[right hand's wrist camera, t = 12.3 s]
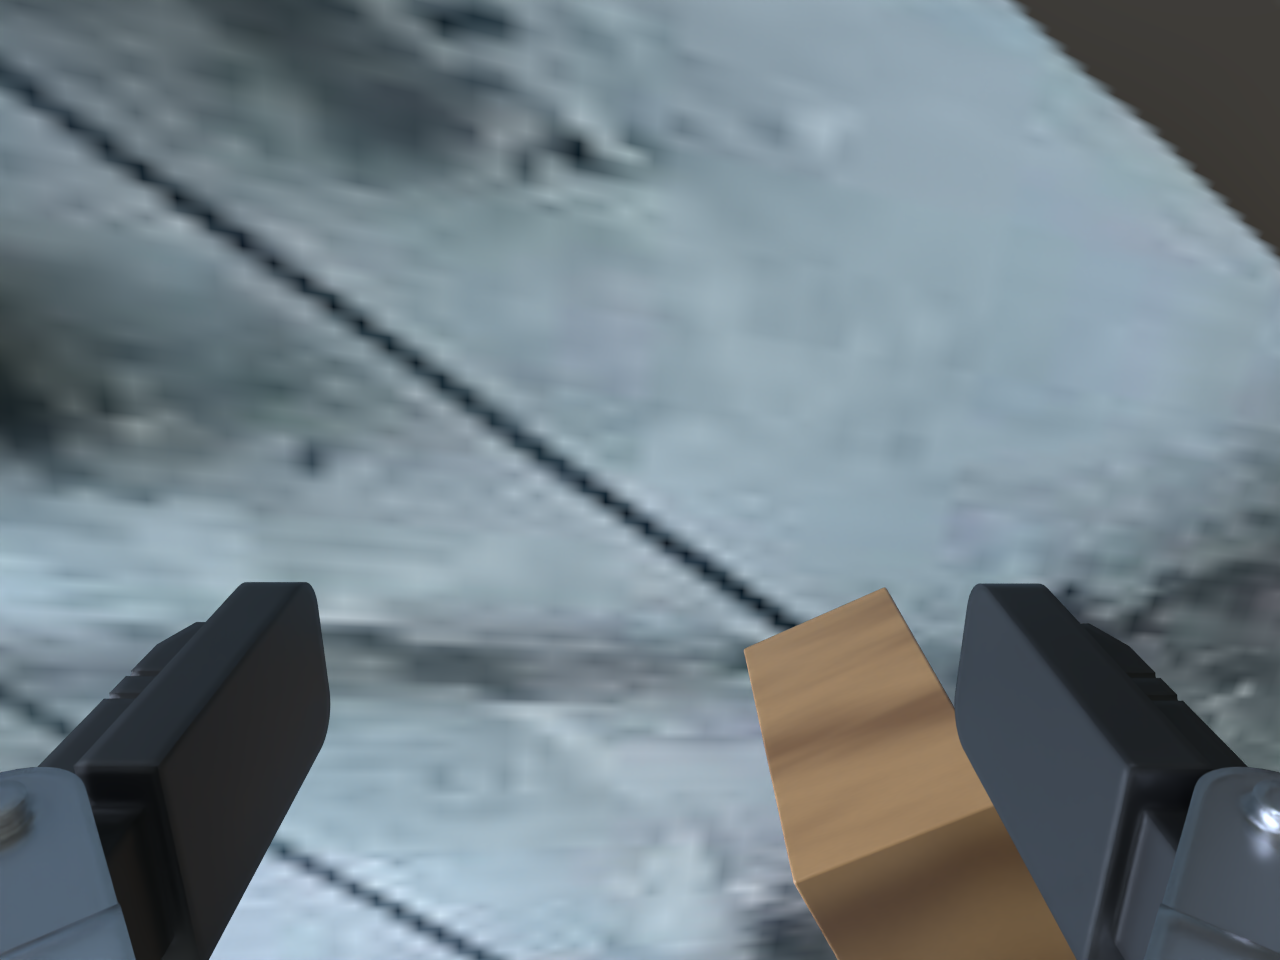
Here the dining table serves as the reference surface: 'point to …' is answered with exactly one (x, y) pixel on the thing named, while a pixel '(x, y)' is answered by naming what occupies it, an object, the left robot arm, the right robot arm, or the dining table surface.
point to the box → (888, 798)
